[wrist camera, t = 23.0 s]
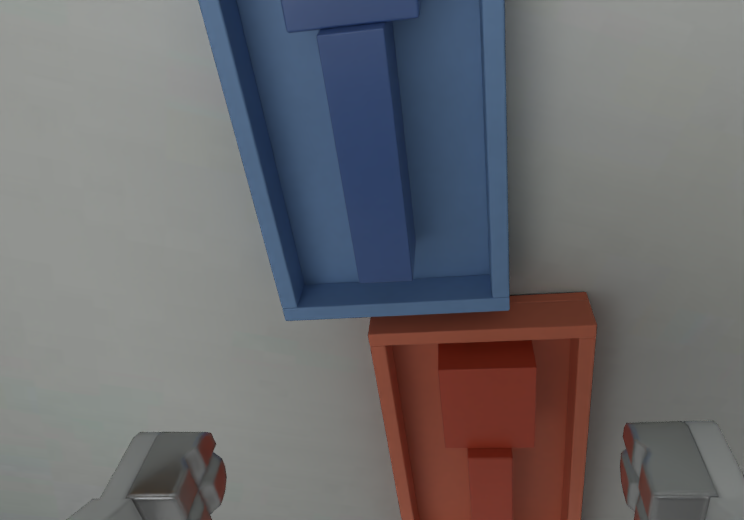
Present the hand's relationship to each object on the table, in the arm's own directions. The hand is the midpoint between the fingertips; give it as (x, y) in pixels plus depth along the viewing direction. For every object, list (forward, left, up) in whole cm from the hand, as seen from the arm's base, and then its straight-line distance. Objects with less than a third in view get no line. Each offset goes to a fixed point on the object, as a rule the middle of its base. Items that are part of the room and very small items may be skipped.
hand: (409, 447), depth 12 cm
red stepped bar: (-13, -2, -11) cm, 17 cm away
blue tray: (+4, +1, -11) cm, 12 cm away
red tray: (-13, -2, -11) cm, 17 cm away
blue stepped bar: (+4, +1, -11) cm, 12 cm away
